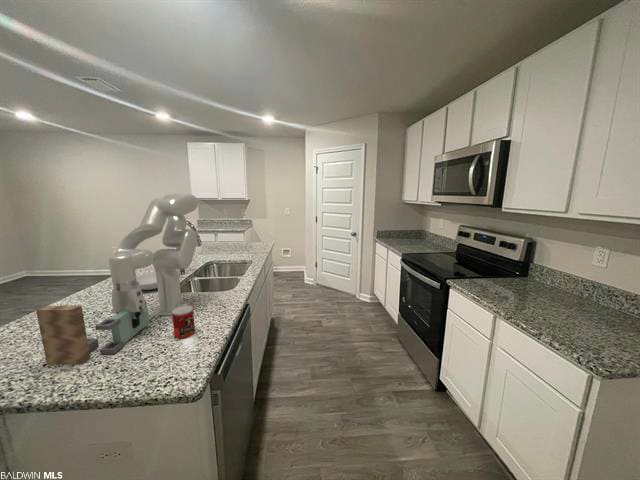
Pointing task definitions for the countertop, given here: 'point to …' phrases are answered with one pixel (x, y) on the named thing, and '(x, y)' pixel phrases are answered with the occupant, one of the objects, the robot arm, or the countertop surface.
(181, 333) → the canned food
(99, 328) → the door
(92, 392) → the countertop surface
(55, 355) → the cabinet side
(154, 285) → the soup bowl
